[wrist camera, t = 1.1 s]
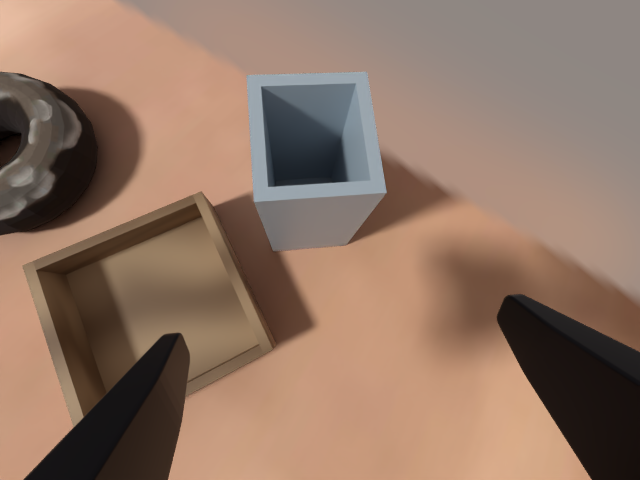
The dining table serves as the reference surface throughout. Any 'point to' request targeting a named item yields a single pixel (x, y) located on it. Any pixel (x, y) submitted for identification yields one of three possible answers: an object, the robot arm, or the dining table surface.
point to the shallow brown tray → (146, 301)
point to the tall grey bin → (313, 157)
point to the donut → (42, 152)
